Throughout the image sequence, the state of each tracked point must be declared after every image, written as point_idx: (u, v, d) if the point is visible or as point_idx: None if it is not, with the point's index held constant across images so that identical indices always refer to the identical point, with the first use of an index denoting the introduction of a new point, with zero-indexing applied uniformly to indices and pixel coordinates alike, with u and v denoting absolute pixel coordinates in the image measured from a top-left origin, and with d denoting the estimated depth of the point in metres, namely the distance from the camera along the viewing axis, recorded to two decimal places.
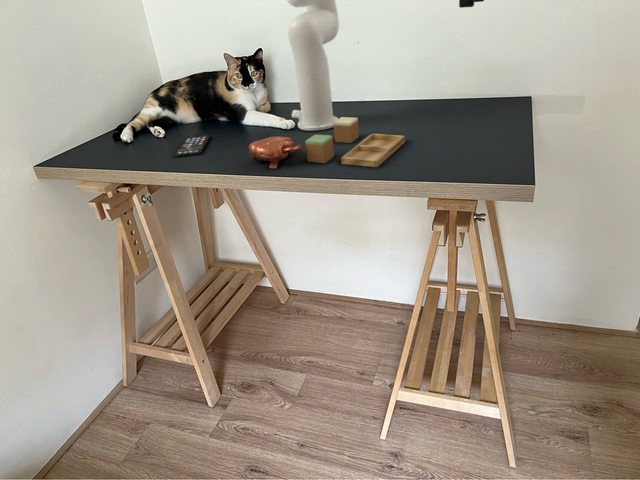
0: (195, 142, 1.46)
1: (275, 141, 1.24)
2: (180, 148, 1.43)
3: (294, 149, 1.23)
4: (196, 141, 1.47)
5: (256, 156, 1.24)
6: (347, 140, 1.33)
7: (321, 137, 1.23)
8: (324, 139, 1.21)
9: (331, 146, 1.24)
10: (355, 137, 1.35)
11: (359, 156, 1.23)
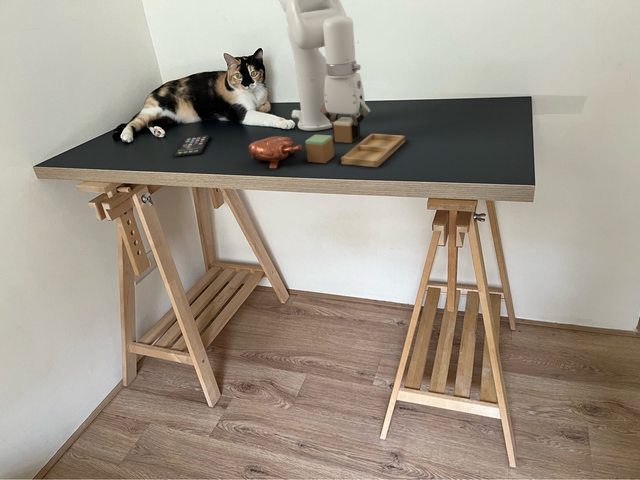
0: (195, 142, 1.46)
1: (275, 141, 1.24)
2: (180, 148, 1.42)
3: (294, 149, 1.23)
4: (196, 141, 1.47)
5: (256, 156, 1.24)
6: (347, 140, 1.33)
7: (321, 137, 1.23)
8: (324, 139, 1.21)
9: (331, 146, 1.24)
10: None
11: (359, 156, 1.23)
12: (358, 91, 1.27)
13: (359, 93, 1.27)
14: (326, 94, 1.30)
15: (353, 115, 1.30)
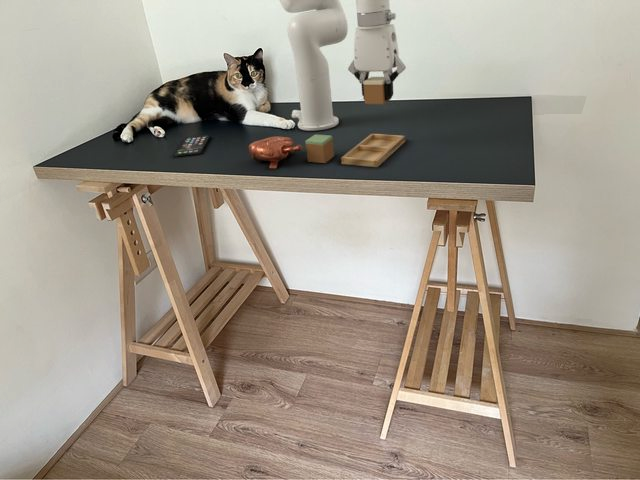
0: (195, 142, 1.46)
1: (275, 141, 1.24)
2: (180, 148, 1.42)
3: (294, 149, 1.23)
4: (196, 141, 1.47)
5: (256, 156, 1.24)
6: (379, 101, 1.20)
7: (321, 137, 1.23)
8: (324, 139, 1.21)
9: (331, 146, 1.24)
10: None
11: (359, 156, 1.23)
12: (392, 44, 1.13)
13: (394, 47, 1.14)
14: (356, 49, 1.17)
15: (386, 72, 1.17)
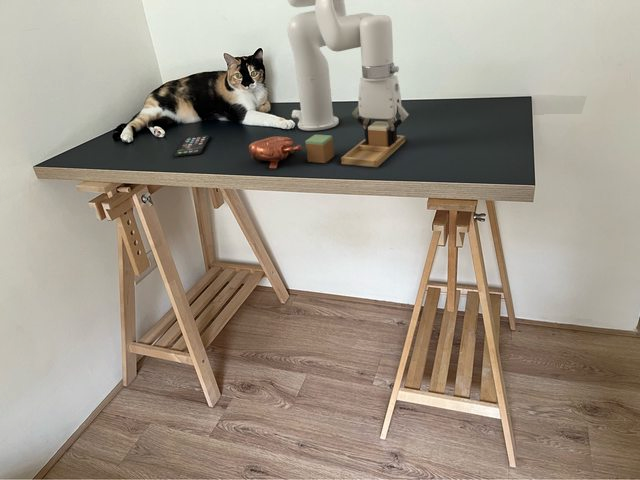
0: (195, 142, 1.46)
1: (275, 141, 1.24)
2: (180, 148, 1.42)
3: (294, 149, 1.23)
4: (196, 141, 1.47)
5: (256, 156, 1.24)
6: (382, 146, 1.25)
7: (321, 137, 1.23)
8: (324, 139, 1.21)
9: (331, 146, 1.24)
10: None
11: (359, 156, 1.23)
12: (395, 95, 1.19)
13: (397, 97, 1.19)
14: (360, 98, 1.22)
15: (390, 120, 1.22)
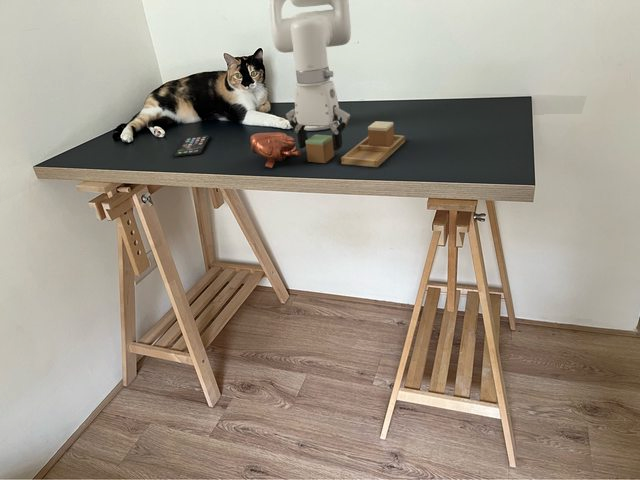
0: (195, 142, 1.46)
1: (277, 140, 1.24)
2: (180, 148, 1.42)
3: (293, 154, 1.22)
4: (196, 141, 1.47)
5: (255, 150, 1.24)
6: (382, 146, 1.25)
7: (321, 137, 1.23)
8: (324, 139, 1.21)
9: (331, 146, 1.24)
10: (390, 143, 1.27)
11: (359, 156, 1.23)
12: (331, 100, 1.14)
13: (333, 103, 1.15)
14: (296, 104, 1.17)
15: (331, 124, 1.16)
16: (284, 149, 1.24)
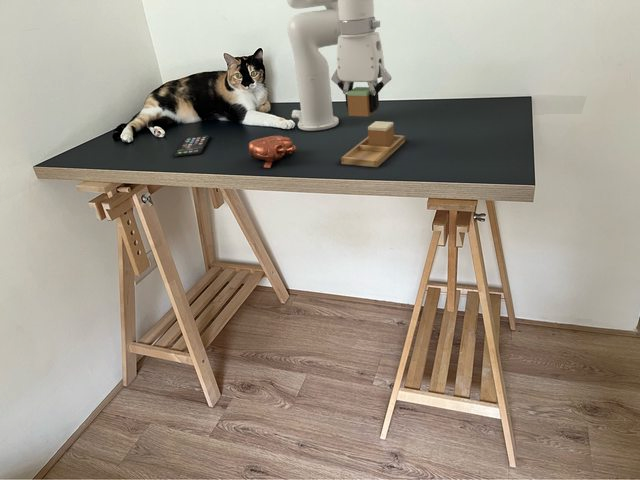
0: (195, 142, 1.46)
1: (272, 141, 1.25)
2: (180, 148, 1.42)
3: (289, 150, 1.23)
4: (196, 141, 1.47)
5: (253, 155, 1.26)
6: (382, 146, 1.25)
7: (364, 89, 1.14)
8: (367, 90, 1.12)
9: None
10: (390, 143, 1.27)
11: (359, 156, 1.23)
12: (377, 53, 1.07)
13: (378, 56, 1.08)
14: (339, 58, 1.10)
15: (371, 83, 1.10)
16: (280, 148, 1.24)
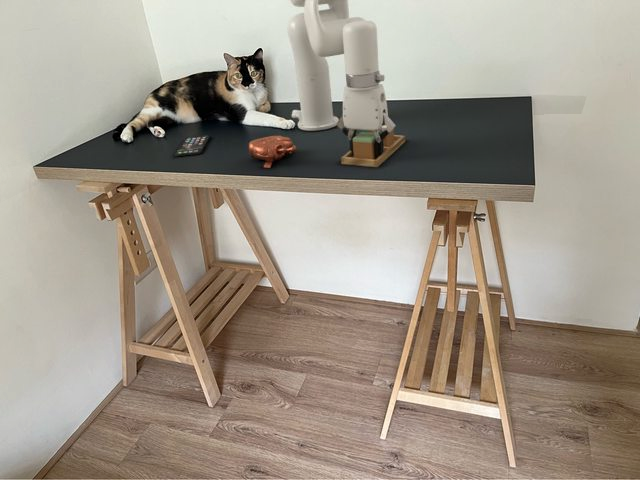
0: (195, 142, 1.46)
1: (272, 141, 1.25)
2: (180, 148, 1.42)
3: (289, 150, 1.23)
4: (196, 141, 1.47)
5: (253, 155, 1.26)
6: None
7: (368, 135, 1.19)
8: (372, 137, 1.18)
9: None
10: (390, 143, 1.27)
11: None
12: (381, 105, 1.12)
13: (383, 107, 1.13)
14: (345, 108, 1.16)
15: (376, 131, 1.16)
16: (280, 148, 1.24)
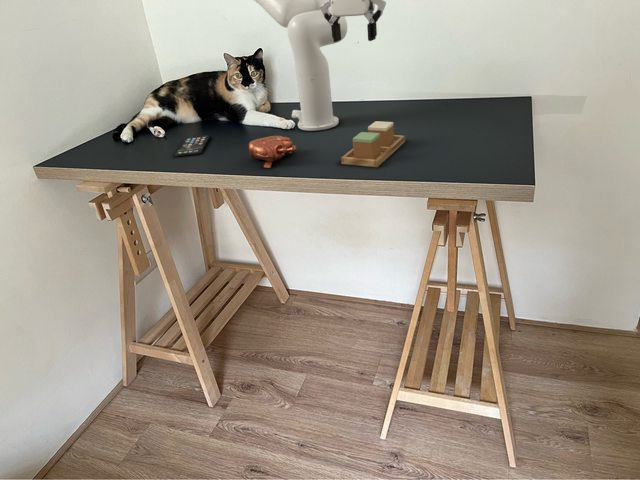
0: (195, 142, 1.46)
1: (272, 141, 1.25)
2: (180, 148, 1.42)
3: (289, 150, 1.23)
4: (196, 141, 1.47)
5: (253, 155, 1.26)
6: (382, 146, 1.25)
7: (368, 135, 1.19)
8: (372, 137, 1.18)
9: (378, 144, 1.20)
10: (390, 143, 1.27)
11: None
12: None
13: None
14: None
15: (366, 13, 1.18)
16: (280, 148, 1.24)
